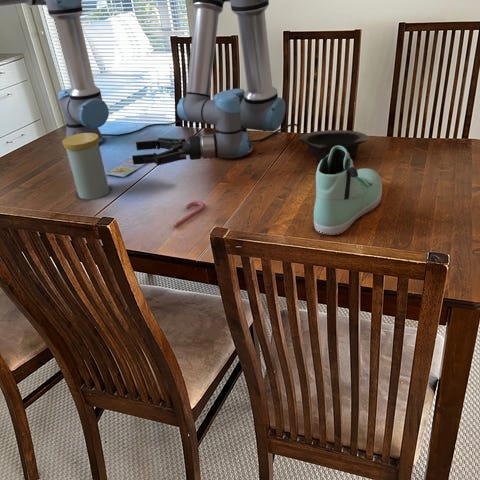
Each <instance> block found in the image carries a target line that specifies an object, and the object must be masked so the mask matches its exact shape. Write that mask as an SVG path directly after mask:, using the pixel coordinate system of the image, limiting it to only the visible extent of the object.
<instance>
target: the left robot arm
mask: <svg viewBox="0 0 480 480" xmlns="http://www.w3.org/2000/svg"><path fill="white" fill-rule="evenodd" d="M82 1H83V0H0V7H3V6H10V5H18V4H20V5H21V4H26V5H28V6H46V9H47V12H48V16H50V18H52V19H53V20H54V22H55V27H56V30H57V34H58V39H59V43H60V46H61V50H62V54H63V58H64V62H65V66H66V70H67V74H68V75H67V76H68V78H69V82H70V87H69V88H66V89H61V90H60V91H58V93H57V95H58V102H59V105H60V107H61V113H62V116H63V119H64V123H65V126H66V133H65V138H67V137H69V136H72V135H75V134H80V133H95V134H97V135H98V137H99V143H98V144H99V145H102V143H104V137H120V136H121V137H123V136H127V135H132V134H135V133H139V132H141V131H143V130H145V129H147V128H151V127H155V126H172V125H176V124H178V123H181V122H182V121H184V120H182V119H181V118H180V119H179V120H177V121H174V122H165V123H163V122H162V123H161V122H159V123H152V124H148V125H145V126H142V127H141V128H139V129H136V130H132V131H128V132H123V133H118V134H112V133H102V132H101V130H100V129H99V128H101V127H102V126H103V125H105V123H106V122H107V121H108V119H109V117H110V110H109V107H108V104H107V103H106V101H104V100H103V96H102V92H101V89H100V88H99V87H98V86H97V85H96V84H95V79H94V75H93V70H92V65H91V61H90V56H89V53H88V52H89V51H88V47H87V44H86V43H87V42H86V39H85V34H84V30H83V26H82V21H81V15H82V14H83V12H84V10H83V5H82ZM188 122H190V121H187V123H188Z"/></svg>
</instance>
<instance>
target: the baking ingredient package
mask: <svg viewBox="0 0 480 480" xmlns="http://www.w3.org/2000/svg"><path fill="white" fill-rule="evenodd" d="M144 165H145V164H136V165H134V164H133V158H132V159H131V158H129V159H128V160H126V161H124V162H122V163H120V164H119V165H118V166H116V167H114V168H111V169H110V170H108V171H107V172H105V174H106V175H109V176H116V177H123V178H124V177H126V176H128V175H130V174H131V173H134V171H136V170H137V169H139V168H141V167H143V166H144Z"/></svg>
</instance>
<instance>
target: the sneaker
mask: <svg viewBox="0 0 480 480" xmlns="http://www.w3.org/2000/svg"><path fill="white" fill-rule="evenodd" d="M317 165H318V166H317V168H316V172H315V201H314V207H313V225H314V229H315V231H316V232H318V233H320V234H323V235H326V236H327V235H328V236H336V235H339V234H342V233H344V232H345V231H347V230H348V229H349V228H350V227H351V226H352V225H353V224H354V222H356V221H357V220H358V219H359V218H360V217H362V216H363V215H365V214H367V213H370V212H372V210H374V209H375V208H377V207H378V205H380V203H381V200H382V196H383V184H382V183H383V182H382V179H381V176H380V175H379V173H378V172H377V171H376V170H374V169H372V168H367V167H365V168H358V169H357V168H355V167H354V161H353V158H352V159H350V156H349V153H348V152H347V150H346V149H345V148H344V147H342V146H334V147H333V148H332V149H331V152H330V154H329V155H327V156H326V157H325V158H324V159H322V160H321V161H320V163H318V164H317ZM343 230H344V231H343ZM319 231H320V232H319ZM322 232H323V233H322ZM339 232H340V233H339ZM326 233H327V234H326ZM328 233H329V234H328ZM335 233H337V234H335Z"/></svg>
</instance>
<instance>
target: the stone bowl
mask: <svg viewBox="0 0 480 480" xmlns="http://www.w3.org/2000/svg"><path fill="white" fill-rule="evenodd" d="M369 140H371V137H370V136H368V135H367V134H366V133H363V132H359V131H357V130H349V129H348V130H343V129H341V130H339V129H328V130H316V131H311V132H305V133H303V134H302V135H300V137H299V139H298V140H297V141H299V142H301V143H303V144H306V145H307V150H308V152H309V154H310V155H311V157H313V158H315V159H316V163H317V164H319V163H320V161H321V160H322V159H324V158H325V157H326V156H327V155H329V154H330V152H331V149H332V148H333V147H334V146H342V147H344V148H345V149H346V150H347V152H348V153H349V156H350V159H352V160H353V159H356V157H357V155H358V153H359V145H362V144H364V143H366V142H368V141H369Z"/></svg>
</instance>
